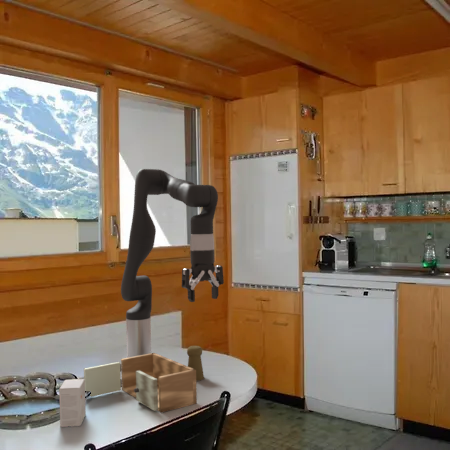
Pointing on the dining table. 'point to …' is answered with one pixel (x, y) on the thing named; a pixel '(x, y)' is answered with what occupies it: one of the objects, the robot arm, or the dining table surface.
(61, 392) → the small box
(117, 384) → the door
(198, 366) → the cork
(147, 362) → the cabinet
